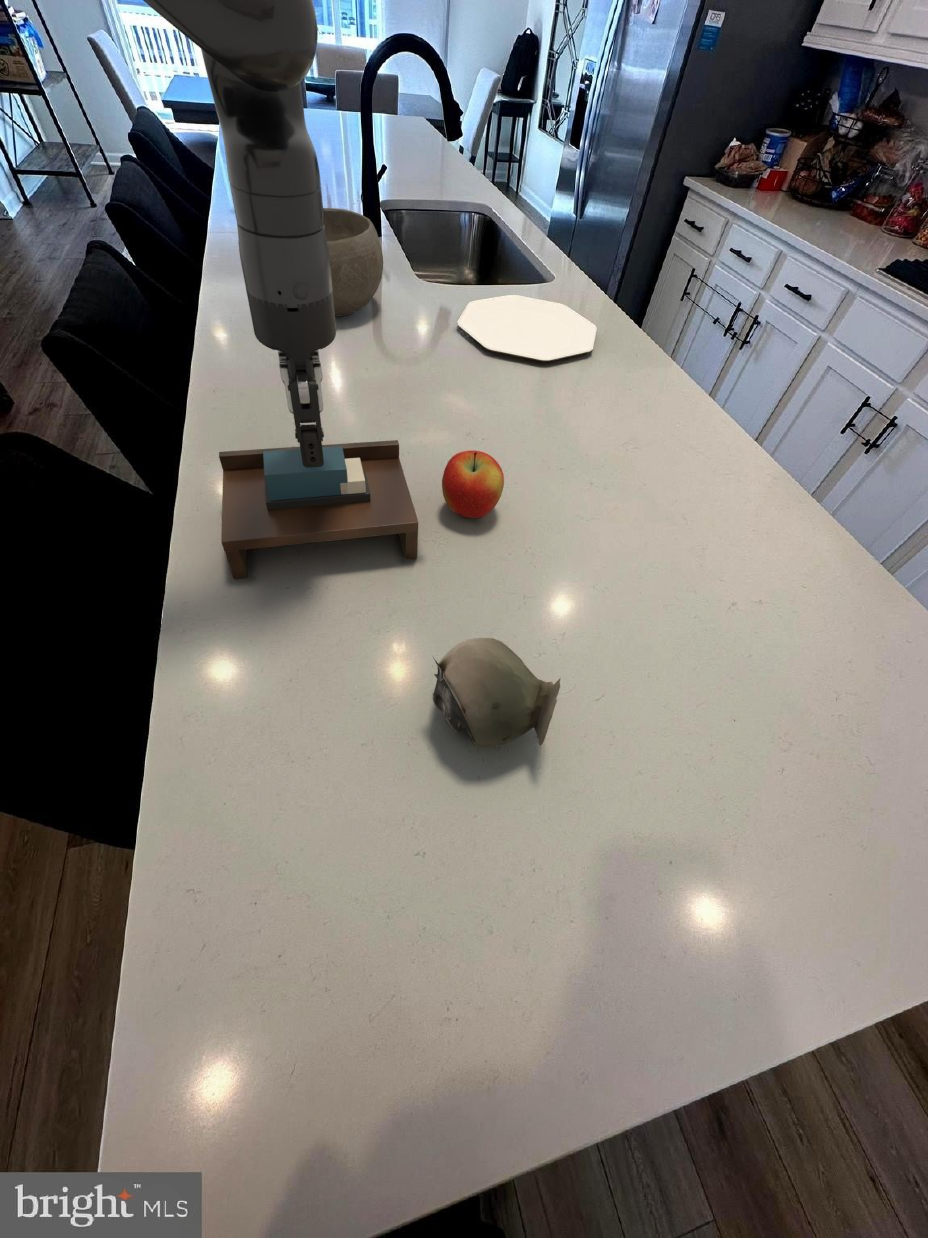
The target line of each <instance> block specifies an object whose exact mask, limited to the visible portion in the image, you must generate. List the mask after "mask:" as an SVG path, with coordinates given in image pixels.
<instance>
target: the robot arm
mask: <svg viewBox="0 0 928 1238" xmlns="http://www.w3.org/2000/svg"><path fill="white" fill-rule="evenodd" d="M142 1H143V2H144V3H145V4H146V5H148V6H149V7H150V8H151V9H153V10H154V11H155V12H156V13H157V14H158V15H159V16H160V17H162V18H163V19H164V20H165V21H167V22H168V23H169V24H170V25H171V26H173V27H174V28H175V29H177V31H179V32H180V33H181V34H183V35H184V36H185V37H186V38H187V39H188V40H189V41H191V42H192V43H194V45H196V46H197V47H198V48H199V49H200V50H201V51H200V52H201V55H202V59H203V63H204V67H205V71H206V76H207V80H208V83H209V84H208V85H209V87H210V88H209V89H210V92H211V95H212V100H213V103H214V107H215V112H216V114H217V115H216V116H217V118H218V122H219V125H220V129H221V134H222V139H223V146H224V152H225V162H226V171H227V176H228V177H227V178H228V182H229V187H230V188H229V189H230V193H231V199H232V205H233V209H234V214H235V215H234V216H235V221H236V228H237V236H238V252H239V258H240V259H239V260H240V264H241V269H242V275H243V279H244V285H245V291H246V297H247V301H248V306H249V313H250V317H251V322H252V327H253V328H252V329H253V333H254V336H255V337H256V340H257V341H258V342H259V343H260V344H261V345H263V346H264V347H266V348H267V349H270V350H273V351H277V355H278V362H279V363H278V367H279V374H280V379H281V381H282V383H283V385H284V391H285V397H286V404H287V410H288V411H289V413H290V414H292V415H293V420H294V427H295V428H294V437H295V438H294V439H296V441H297V443H299V447H300V450H301V456H302V463H303V466H304V467H306V468H310V467H321V466H323V465H324V458H323V450H322V445H323V443H322V442H323V441H324V438H325V433H324V428H323V427H322V420H321V413H322V412H324V411H323V410H324V399H323V398H324V397H323V392H322V381H323V371H322V364H321V361H320V352H319V350H323V349H326V348H327V347H329V346H330V345H331V344H333V342H334V340H335V338H336V335H337V327H336V316H335V313H334V300H333V288H332V276H331V263H330V254H329V249H328V244H327V239H326V234H325V226H324V214H323V208H324V204H323V191H322V182H321V173H320V165H319V161H318V156H317V152H316V149H315V147H314V144H313V141H312V139H311V136H310V134H309V132H308V128H307V124H306V118H305V109H304V108H305V107H304V101H303V91H302V84H301V82H302V81H303V80H304V79H305V78H306V76H307V75H308V73H309V72H310V70H311V68H312V66H313V63H314V61H315V57H316V53H317V50H318V49H317V47H318V38H319V37H318V36H319V33H318V31H319V30H318V20H317V14H316V9H315V4H314V1H313V0H142Z"/></svg>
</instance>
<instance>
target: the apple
mask: <svg viewBox="0 0 928 1238" xmlns="http://www.w3.org/2000/svg"><path fill="white" fill-rule="evenodd" d="M443 470H444V471H443V473H442V478H441V479H442V480H441V491H442V496H443V499H444V502H445V504H446V505H447V507H448V508H449V509H450V510H451V511H452V512H454V513H455V514H457V515H459V516H461V517H464V518H468V519H469V518H470V519H480V518H482V517H485V516H487V515H488V514H489V513H491V512H492V511H493V510H494V509H495V507H497V505H498V503H499V501H500V499H501V497H502V494H503V490H504V486H505V476H504V472H503V469H502V466H501V465H500V464H499V462H498V461H497V460H496V459H495V458H494V457H493V456H492V455H490V454H489V453H487V452H484V451H482V450H481V451H480V450H464V451H460V452H457V453H455V454H454V455H453V456H451V458H450V459H448V462H447V464H446V465H445V467H444V469H443Z"/></svg>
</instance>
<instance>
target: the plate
mask: <svg viewBox="0 0 928 1238" xmlns="http://www.w3.org/2000/svg"><path fill="white" fill-rule="evenodd" d="M456 324H457V327H458V328H460V330H462V331H463V332H464V333H466V334H467V335H468V336H469V337H470V338H472V339H473V340H474V341H475V342H476V343H477V344H479V345H480V346H481V347H482V348H484V350H487V351H489V352H493V353H497V354H502V355H507V356H512V357H516V358H521V359H527V360H531V361H537V362H541V363H544V362H545V363H549V362H555V361H558V360H563V359H567V358H571V357H576V356H580V355H584V354H589V353H591V352H592V351H594V347H595V346H594V345H595V340H596V335H597V331H598V328H597V326H596V325H595V323H593V322H592V321H590V320H589V319H587V318H586V317H584V316H582V315H581V314H579V313H578V312H576V311H575V310H574V309H572V308H570V307H569V306H567V305H566V304H563V303H559V302H555V301H549V300H544V299H540V298H534V297H528V296H524V295H518V294H508V295H507V294H506V295H501V296H495V297H489V298H483V299H476V300H472V301H470V302H467V304H466V306H465V307H464V310H463V312H462V313H461V315H460V317H459V318H458V319H457V322H456Z"/></svg>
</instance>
